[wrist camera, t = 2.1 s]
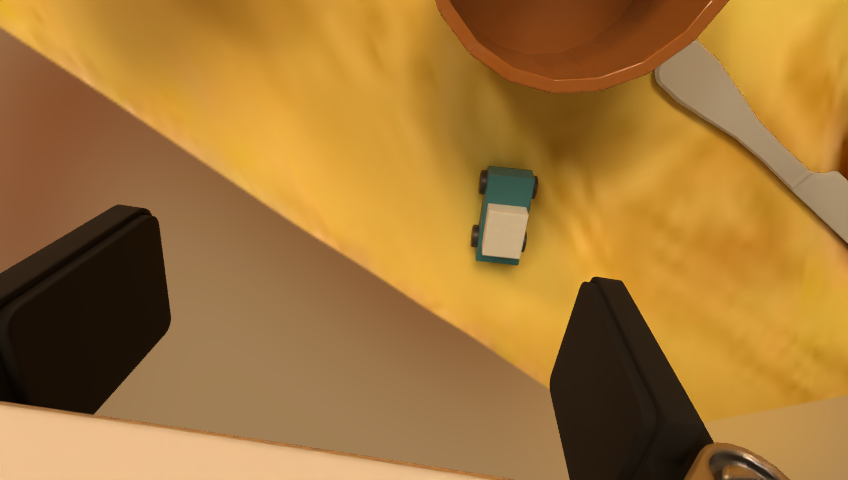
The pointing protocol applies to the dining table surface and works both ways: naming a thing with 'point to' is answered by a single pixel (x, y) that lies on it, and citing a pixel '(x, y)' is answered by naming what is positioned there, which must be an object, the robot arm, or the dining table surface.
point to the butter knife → (750, 130)
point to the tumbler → (576, 38)
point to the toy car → (503, 214)
